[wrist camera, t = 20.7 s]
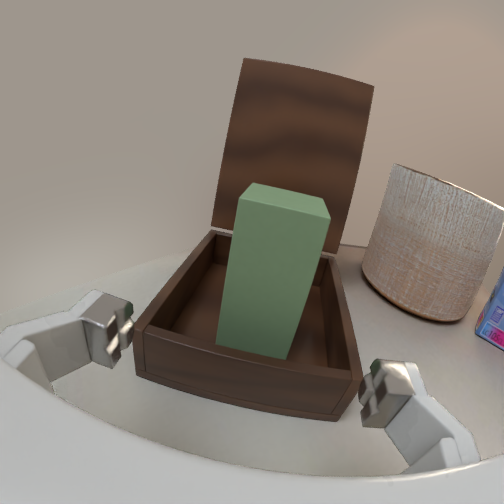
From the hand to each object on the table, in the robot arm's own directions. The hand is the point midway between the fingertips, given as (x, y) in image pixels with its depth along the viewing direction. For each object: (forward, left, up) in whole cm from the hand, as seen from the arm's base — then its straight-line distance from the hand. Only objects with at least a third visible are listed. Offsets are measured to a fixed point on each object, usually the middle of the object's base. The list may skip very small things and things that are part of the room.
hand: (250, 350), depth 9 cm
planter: (+16, +31, -9) cm, 36 cm away
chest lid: (-4, +22, +5) cm, 23 cm away
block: (-2, +10, -8) cm, 13 cm away
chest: (-2, +13, -9) cm, 16 cm away
